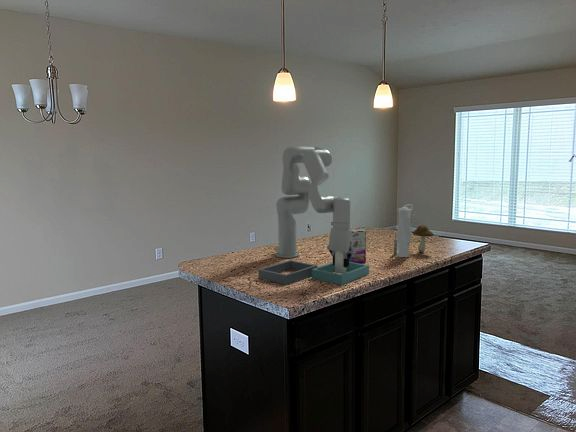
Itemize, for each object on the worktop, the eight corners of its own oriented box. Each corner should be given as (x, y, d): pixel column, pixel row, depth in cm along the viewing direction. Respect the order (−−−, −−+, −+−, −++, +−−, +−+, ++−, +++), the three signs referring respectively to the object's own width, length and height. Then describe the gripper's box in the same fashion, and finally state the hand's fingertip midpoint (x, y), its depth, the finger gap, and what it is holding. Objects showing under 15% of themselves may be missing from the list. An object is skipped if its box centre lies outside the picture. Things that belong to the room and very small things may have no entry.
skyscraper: (408, 255, 247) (410, 203, 243) (413, 258, 239) (415, 205, 235) (393, 255, 247) (394, 203, 243) (397, 258, 239) (398, 205, 235)
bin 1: (258, 278, 202) (258, 269, 202) (290, 268, 219) (290, 260, 218) (286, 285, 192) (286, 275, 191) (317, 274, 209) (317, 265, 208)
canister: (332, 272, 205) (332, 250, 203) (338, 269, 209) (339, 248, 207) (342, 274, 201) (342, 252, 200) (348, 271, 205) (349, 250, 204)
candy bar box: (361, 260, 234) (362, 228, 231) (365, 262, 229) (366, 230, 227) (341, 262, 231) (341, 229, 228) (345, 264, 226) (345, 231, 224)
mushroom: (428, 255, 244) (429, 227, 242) (408, 252, 252) (409, 225, 250) (435, 252, 251) (437, 225, 249) (416, 249, 259) (417, 223, 256)
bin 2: (311, 278, 202) (311, 269, 201) (339, 268, 219) (339, 260, 218) (342, 284, 192) (342, 275, 191) (368, 274, 208) (369, 265, 208)
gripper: (320, 224, 205) (320, 264, 207) (353, 229, 194) (352, 270, 196) (330, 222, 210) (329, 261, 213) (362, 226, 199) (361, 267, 202)
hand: (340, 265), depth 205 cm, fingers closed on canister, 5 cm apart
